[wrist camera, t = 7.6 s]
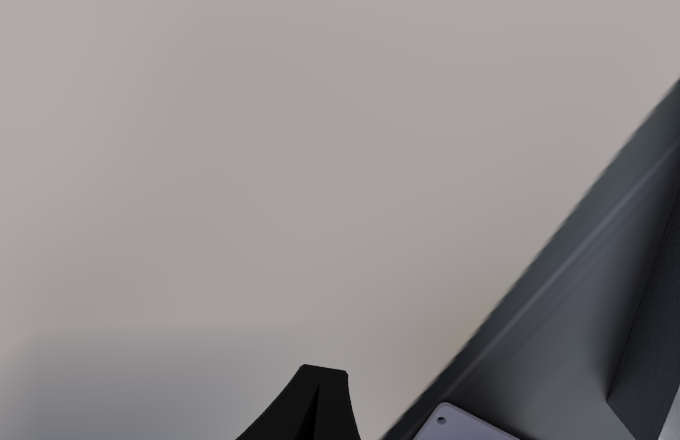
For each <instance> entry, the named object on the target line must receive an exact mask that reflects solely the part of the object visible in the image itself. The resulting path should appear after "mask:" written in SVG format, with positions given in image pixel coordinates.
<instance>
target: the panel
mask: <svg viewBox="0 0 680 440" xmlns="http://www.w3.org/2000/svg"><path fill="white" fill-rule="evenodd" d="M607 404H608V405H609V406H610V408H611V409H612V410H613V412H614V413H615V414H616V415H617V417H618V418H619V419H620V420H621V422H622V423H623V424H624V425H625V427H626V428H627V429H628V430H629V432H630V433H631V434H632V435H633V437H634V438H635V439H636V440H680V192H679V194H678V197H677V200H676V203H675V206H674V209H673V212H672V215H671V218H670V221H669V223H668V226H667V229H666V232H665V235H664V238H663V241H662V244H661V247H660V249H659V252H658V255H657V258H656V261H655V264H654V267H653V270H652V273H651V275H650V278H649V281H648V284H647V287H646V290H645V293H644V296H643V299H642V301H641V304H640V307H639V310H638V313H637V316H636V319H635V322H634V325H633V327H632V330H631V333H630V336H629V339H628V342H627V345H626V348H625V351H624V353H623V356H622V359H621V362H620V365H619V368H618V371H617V374H616V377H615V380H614V382H613V385H612V388H611V391H610V394H609V397H608V400H607Z"/></svg>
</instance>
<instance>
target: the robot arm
mask: <svg viewBox="0 0 680 440" xmlns="http://www.w3.org/2000/svg"><path fill="white" fill-rule="evenodd" d="M439 417H444V419H441V420H440V419H438V418H439ZM236 440H361V439H360V436H359V433H358V429H357V425H356V422H355V418H354V414H353V411H352V405H351V400H350V395H349V387H348V374H347V373H346V371H344V370H338V369H332V368H325V367H319V366H313V365H307V364H304V365H302V366H301V367H300V368H299V369H298V371H297V372H296V374H295V375H294V377H293V378H292V379H291V381H290V382H289V383H288V385H287V386H286V387H285V388H284V390H283V391H282V392H281V393H280V394H279V395H278V396H277V398H276V399H275V400H274V401H273V402H272V403H271V404H270V406H269V407H268V408H267V409H266V410H265V411H264V412H263V413H262V414H261V415H260V416H259V417H258V418H257V419H256V420H255V421H254V422H253V423H252V424H251V425H250V426H249V427H248V428H247V429H246V430H245V431H244V432H243V433H242V434H241V435H240V436H239V437H238V438H237V439H236ZM413 440H520V439H518V438H516V437H514V436H512V435H510V434H508V433H506V432H504V431H502V430H500V429H499V428H497V427H495V426H493V425H491V424H489V423H487V422H485V421H483V420H481V419H479V418H477V417H475V416H473V415H471V414H470V413H468V412H466V411H464V410H462V409H460V408H458V407H456V406H454V405H452V404H450V403H447V402H443V403H440V404H439V405H438V406H437V407H436V409H435V410H434V411H433V413H432V414H431V416H430V417H429V418H428V420H427V421H426V422H425V424H424V425H423V427H422V428H421V429H420V431H419V432H418V433H417V435H416V436H415V438H414V439H413Z"/></svg>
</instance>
